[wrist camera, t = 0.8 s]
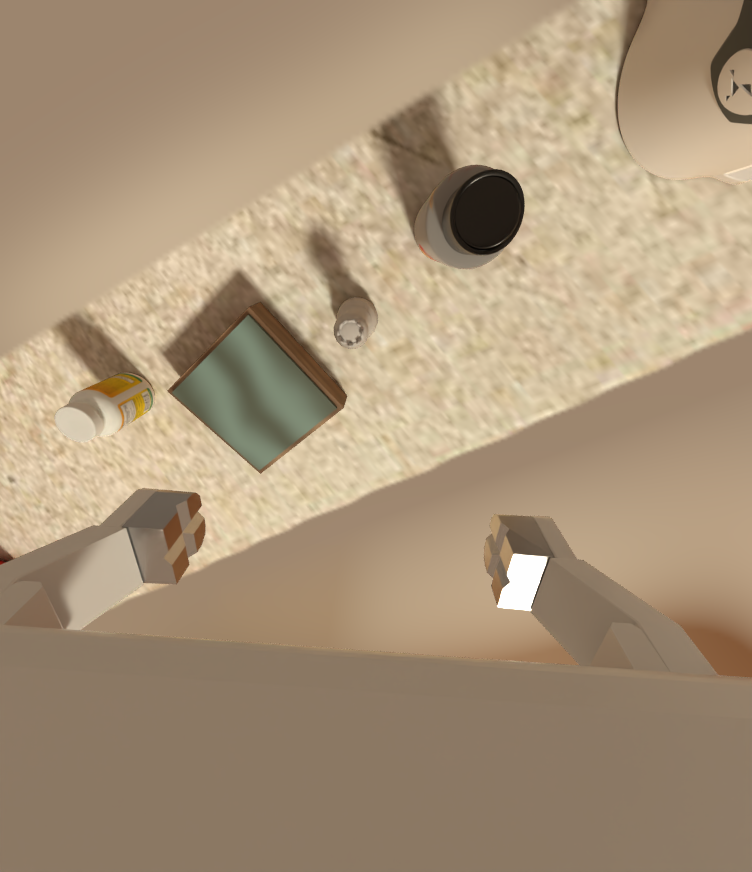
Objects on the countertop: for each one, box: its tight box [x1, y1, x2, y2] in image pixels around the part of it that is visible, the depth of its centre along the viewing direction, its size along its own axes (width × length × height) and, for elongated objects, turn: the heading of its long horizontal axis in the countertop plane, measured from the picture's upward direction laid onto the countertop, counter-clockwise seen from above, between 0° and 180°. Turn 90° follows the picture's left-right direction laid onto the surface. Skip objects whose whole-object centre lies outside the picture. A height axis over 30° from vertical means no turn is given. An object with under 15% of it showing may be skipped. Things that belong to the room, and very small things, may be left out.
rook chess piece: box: [334, 297, 378, 349], centre depth 37 cm, size 4×4×8 cm
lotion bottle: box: [414, 165, 524, 269], centre depth 28 cm, size 6×6×20 cm
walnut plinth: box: [168, 302, 347, 474], centre depth 43 cm, size 14×14×4 cm
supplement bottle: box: [55, 372, 155, 442], centre depth 42 cm, size 5×5×10 cm
